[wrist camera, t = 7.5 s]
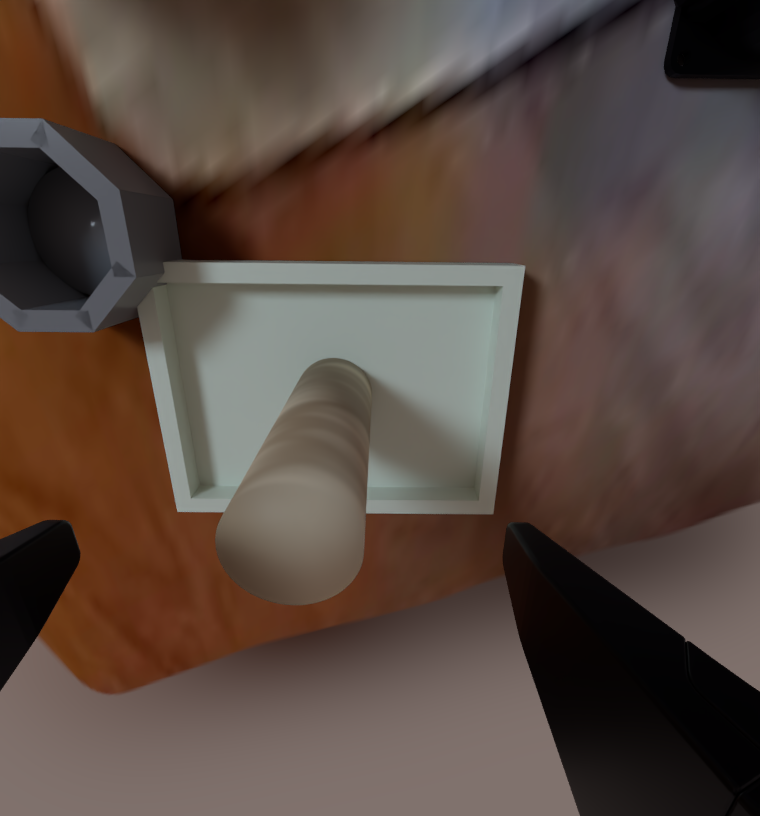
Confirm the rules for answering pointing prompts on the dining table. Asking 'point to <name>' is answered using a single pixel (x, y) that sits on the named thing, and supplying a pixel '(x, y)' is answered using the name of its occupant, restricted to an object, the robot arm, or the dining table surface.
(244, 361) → the tray
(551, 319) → the dining table surface
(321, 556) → the pin
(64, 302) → the pen cup
